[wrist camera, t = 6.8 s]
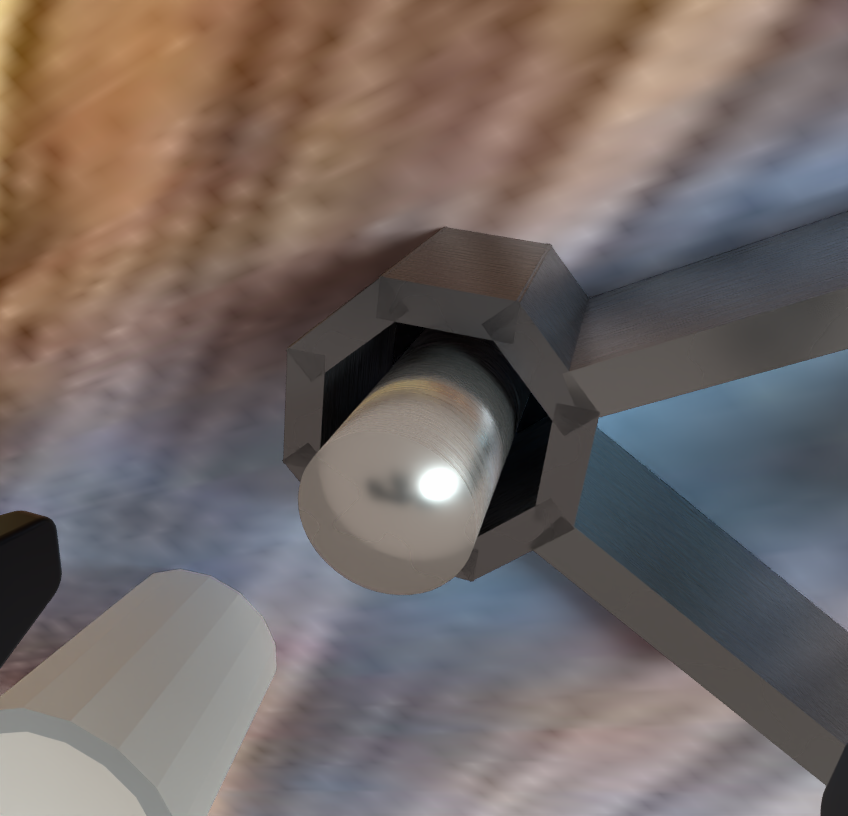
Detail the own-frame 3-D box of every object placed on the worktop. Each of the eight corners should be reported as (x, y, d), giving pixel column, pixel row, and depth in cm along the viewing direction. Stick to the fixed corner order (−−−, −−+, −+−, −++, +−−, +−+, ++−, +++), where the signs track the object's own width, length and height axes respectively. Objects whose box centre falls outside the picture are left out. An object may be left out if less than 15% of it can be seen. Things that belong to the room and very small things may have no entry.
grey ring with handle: (1062, 152, 15) (1237, 186, 10) (838, 659, 20) (892, 825, 16) (385, 66, 17) (295, 65, 13) (348, 536, 23) (275, 648, 18)
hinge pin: (550, 310, 19) (488, 456, 12) (529, 421, 20) (463, 614, 13) (430, 287, 19) (302, 414, 12) (417, 397, 20) (294, 569, 13)
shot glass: (185, 735, 28) (55, 922, 22) (75, 587, 27) (-98, 742, 21) (332, 693, 26) (231, 893, 19) (218, 525, 24) (68, 683, 18)
